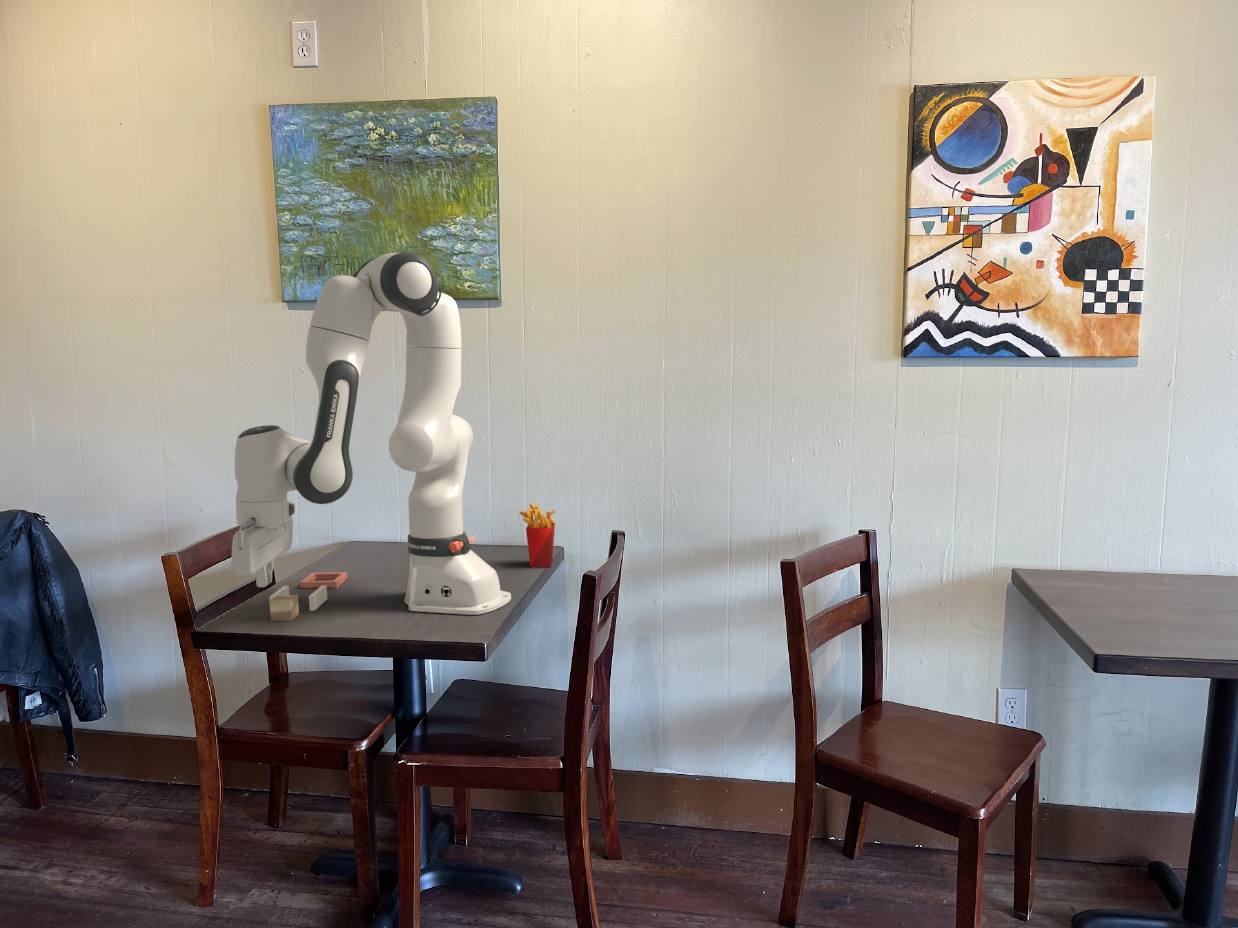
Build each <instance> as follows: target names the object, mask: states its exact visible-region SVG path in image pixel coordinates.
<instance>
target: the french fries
mask: <svg viewBox="0 0 1238 928" xmlns="http://www.w3.org/2000/svg"><path fill="white" fill-rule="evenodd" d="M528 506H529V507H530V508H527V509H526V510H524V511H523V510H520V511H519V515H521V516H522V517H523V518H522V521H523V522H524V523H526V524H527V526H526V528H525V531H526V533H525V534H526V540H527V550H528V557H529V559H528V560H529V566H530V567H547V568H548V569H550V568H551V567H552V564H553V558H554V557H553V556H554V546H555V545H554V544H555V528H556V522H555V519H554V517H551V516H552V515H554V514H555V513H556V510H555V509H553V510H551V511H550V510H546V511H545V513H546V515H544V514H543V513H542V511H541V508H540V506H539V505H538V504H537V505H534V503H529V504H528ZM526 511H527V512H526ZM547 568H546V569H547Z"/></svg>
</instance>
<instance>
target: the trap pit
mask: <svg viewBox="0 0 1238 928" xmlns="http://www.w3.org/2000/svg"><path fill="white" fill-rule="evenodd" d="M347 580H348V572H346V571H345V572H343V571H342V572H312V573H310V574H309V575H308V576H306V577H305V578H303V579H302V580H301V581H300V582H299V585H300V590H309V589H311V590H314V589H315V590H317V589H318V588H319V587H321V586H322V585H327V590H328V589H338V588H339V587H340V586H341V585H342V584H343V583H345V581H347Z"/></svg>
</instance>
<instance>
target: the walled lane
mask: <svg viewBox="0 0 1238 928" xmlns="http://www.w3.org/2000/svg"><path fill="white" fill-rule="evenodd" d="M278 595H290V587H289V585H283V586H282V587H280V588H279V589H278V590H277V591H275V592H274V593H272V594H271V595H270V596H269V597H268V599H269V600H268V601H269V602H270V601H271V600H272V599H274V598H275V597H276V596H278ZM327 600H328V589H327V585H322V586H321V587H319V588H318V589H315V590H314V592H313V593H311V594H310V595H309V596H308V602H309V612H311V611H312V612H313V611H316V610H317V609H319V607H320V606H322V605H323V604H324V603H325V602H326V601H327Z"/></svg>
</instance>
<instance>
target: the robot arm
mask: <svg viewBox="0 0 1238 928" xmlns="http://www.w3.org/2000/svg"><path fill="white" fill-rule="evenodd" d="M458 307H459V306H458V304H457V302H456V300H455V299H454V298H453V297H452V296H451V295H449V294H446V293H444V292H442V288H441V286H440V285H439V283H438V279H437V275H436V273H435V271H434V269H433V267H432V265H431V264H430V262H428V261H427V260H426V259H425V258H423V257H422V256H421V255H418V254H416V253H412V252H409V251H407V252H405V251H404V252H403V251H402V252H390V253H385V254H382V255H380V256H377V257H373V258H370V259H369V260H367V261H366V262H364V263H363V264H362V265H361V266H360V267H359V268H358V270H357V271H356V272H355V273H354V274H353V275H346V274H344V275H342V274H340V275H336V276H331V277H330V278H328V279H327V280H326V281H325V282H324V284H323V286H322V289H321V290H320V294H319V295H318V298H317V300H316V303H315V306H314V309H313V313H312V316H311V319H310V324H309V327H308V332H307V338H306V345H305V347H306V349H305V362H306V364H307V366H308V367H307V368H308V369H309V371H310V372H311V374H312V376H313V377H314V381H315V382H316V385H317V388H318V406H317V411H316V418H315V423H314V430H313V434H312V440H307V439H305V438H302V437H299V436H297V435H295V434H292V433H290V432H288V431H286V430H285V429H283V428H281V427H280V426H279V425H276V424H275V425H273V424H271V425H270V424H268V425H260V426H255V427H251V428H247V429H245V430H244V431H242V432H241V433H240V434H239V435H238V437H237V438H236V442H235V448H234V478H235V480H236V483H237V490H236V493H235V494H236V495H235V515H236V516H235V517H236V524H237V525H238V526H239V529H238V531H236V532H235V533H234V535H233V537H232V543H231V571H232V573H233V574H234V575H237V576H238V575H240V576H241V575H242V576H246V575H247V576H249V575H253V574H254V576H255V580H256V587H258V588H266V587H267V586H268V585H269V584H271V583H272V582H273V571H274V567H275V564H276V563H275V559H277V558H279V557H280V556H281V555H283V554H284V553H286V552H288V551H289V550H290V549H291V548H292V547H291V546H292V544H293V536H294V535H293V534H294V519H293V518H294V517H293V515H294V514H295V513H296V505H295V503H293V502H291V501H288V493H289V492H291V491H297V492H298V493H299V494H300V495H301V496H302V498H304V499H305V500H306V501H308V502H310V503H313V504H317V505H327V504H331V503H334V502H336V501H338V500H340V499H341V498H342V497H344V495H346V493H347V492H348V491H349V490H350V487H351V484H352V482H353V474H354V473H353V466H352V462H351V457H350V441H351V436H352V435H351V434H352V429H353V422H354V417H355V416H354V415H355V410H356V405H357V397H358V389H359V384H360V381H361V376H362V371H363V368H364V364H365V361H366V356H367V351H368V348H369V344H370V339H371V333H372V328H373V325H374V323H375V321H376V319H377V317H378V315H380V313H381V312H395V313H396V312H399V313H400V315H401V316H402V318H403V322H404V323H405V329H406V338H405V340H406V343H405V346H406V347H405V384H404V385H405V387H404V392H403V397H402V401H401V407H400V410H399V414H398V419H397V423H396V426H395V427H394V429H393V431H392V433H391V435H390V437H389V440H388V452H389V455H390V458H391V459H392V461H393V463H394V464H395V465H396V466H398V467H399V468H400V469H402V470H405V471H409V472H414V473H415V477H414V481H413V485H412V489H411V491H410V492H409V495H408V501H407V502H408V503H407V504H408V526H409V534H408V535H407V551H408V554H409V555H408V556H409V571H408V572H409V573H408V582H407V586H406V587H407V588H406V593H405V597H404V601H403V602H404V603H405V604H406V605H407V606H408V611H411V612H420V613H421V612H425V613H437V614H438V613H440V614H454V615H455V614H457V615H469V616H476V615H477V616H478V615H481V614H482V615H483V614H486V613H489V612H492V611H495V610H497V609H500V608H502V607H503V606H505V605H507V604H508V603H509V602H511V600H512V594H511V592H509V591H504V590H501V586H500V585H501V584H500V579H499V576H498V573H497V571H496V569H494V568H493V567H492V566H491V565H489V564H488V563H487V562H486V561H485V560H483V559H482V558H481V557H480V556H479V555H478V554H476V553H475V552H474V551H473V550H472V546H471V544H472V543H474V542H475V541H476V540H474V539H475V536H472V537H469V538H468V536H467V534H466V531H465V530H464V516H463V515H464V509H463V501H464V500H463V497H464V496H463V495H464V494H463V493H464V484H465V479H466V474H467V466H468V459H469V454H470V451H471V448H472V446H473V443H474V432H473V428H472V427H471V425H470V423H469V422H468V421H467V420H466V419H465V418H463V417H461V416H459V415H457V414H453V412H454V408H455V403H456V399H457V396H458V393H459V392H460V391H461V386H462V350H463V348H462V343H463V342H462V339H463V337H462V326H461V319H460V312H459V308H458Z"/></svg>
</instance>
